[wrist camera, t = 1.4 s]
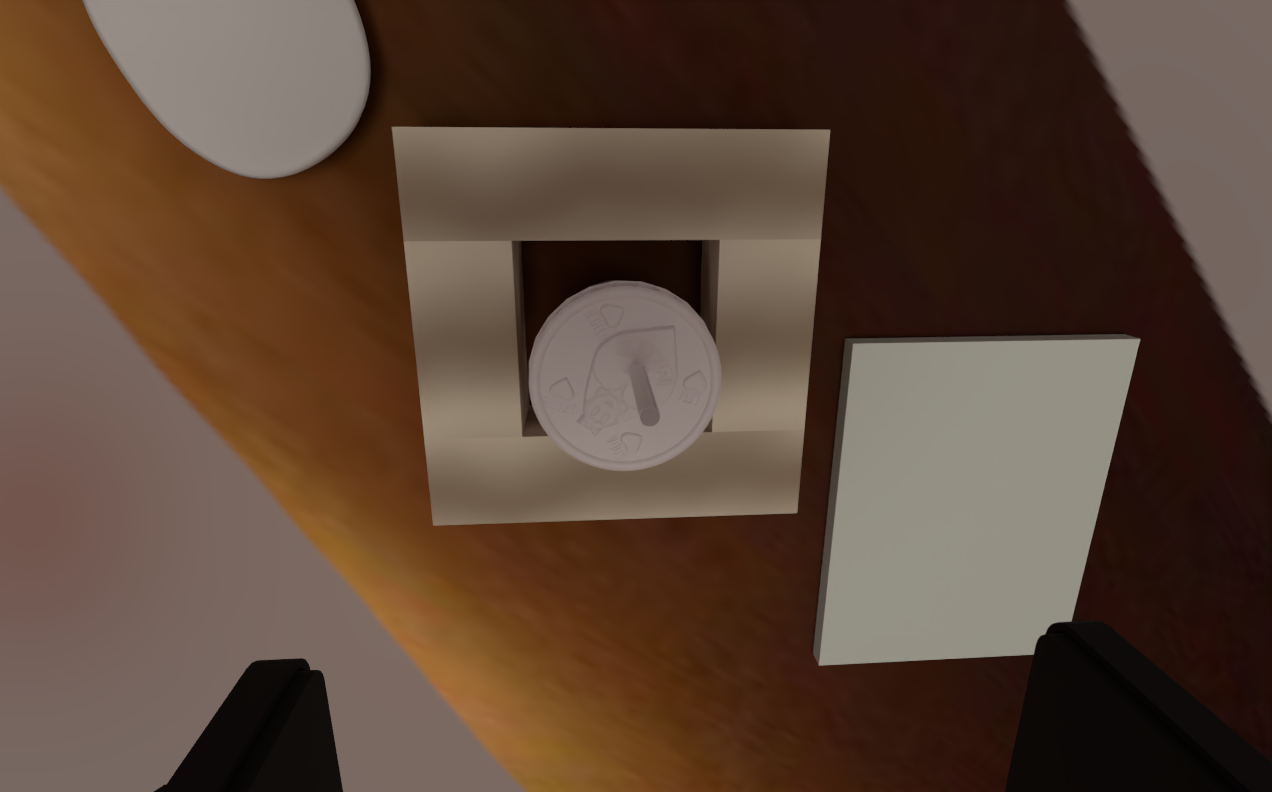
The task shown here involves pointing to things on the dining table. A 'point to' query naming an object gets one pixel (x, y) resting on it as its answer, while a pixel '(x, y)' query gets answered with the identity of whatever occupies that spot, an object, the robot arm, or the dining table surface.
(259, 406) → the dining table surface
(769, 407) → the wooden square frame
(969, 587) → the serving board
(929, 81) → the dining table surface
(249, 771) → the robot arm
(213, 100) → the white long flared piece
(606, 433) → the smoothie
